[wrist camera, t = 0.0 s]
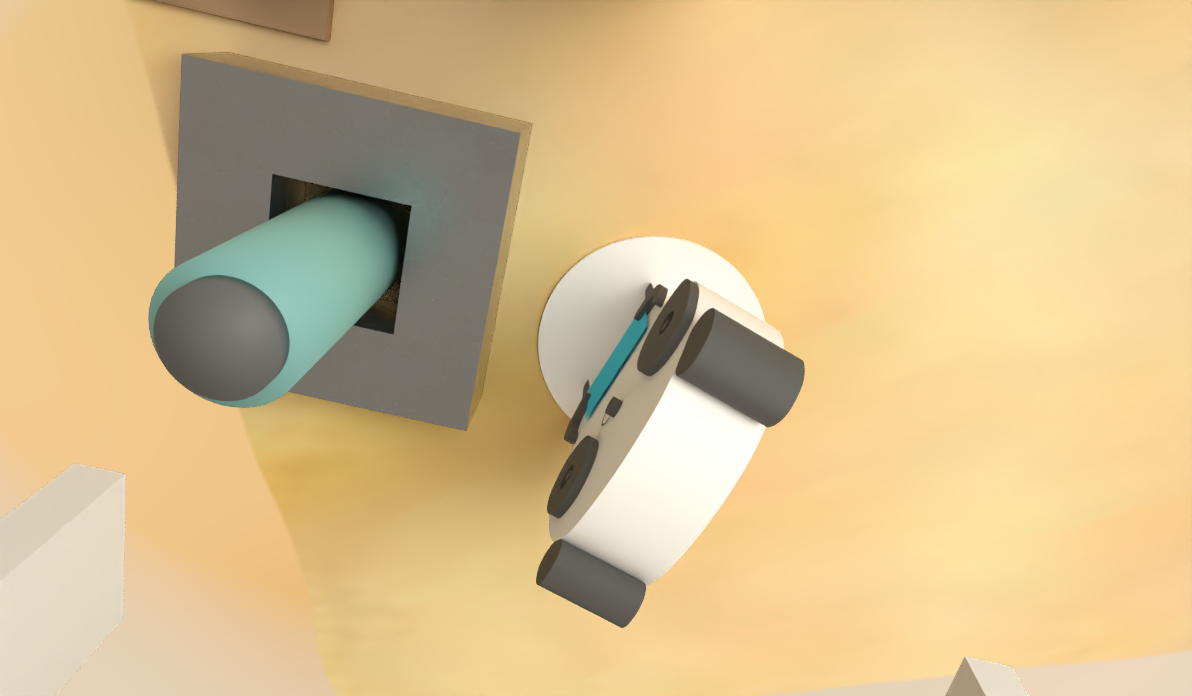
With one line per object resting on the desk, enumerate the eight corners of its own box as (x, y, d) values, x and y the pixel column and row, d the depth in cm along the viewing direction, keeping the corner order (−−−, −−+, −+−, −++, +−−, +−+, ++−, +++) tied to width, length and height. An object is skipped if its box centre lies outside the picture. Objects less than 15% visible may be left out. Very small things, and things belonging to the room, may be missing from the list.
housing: (228, 52, 37) (181, 53, 33) (532, 123, 37) (520, 133, 33) (212, 336, 42) (171, 366, 38) (481, 395, 42) (466, 430, 38)
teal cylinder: (315, 170, 38) (135, 246, 25) (424, 195, 39) (305, 284, 25) (305, 274, 40) (133, 398, 27) (409, 297, 41) (291, 433, 27)
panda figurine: (620, 178, 38) (610, 262, 24) (820, 299, 40) (920, 444, 26) (499, 380, 42) (430, 553, 28) (685, 483, 44) (708, 695, 30)
